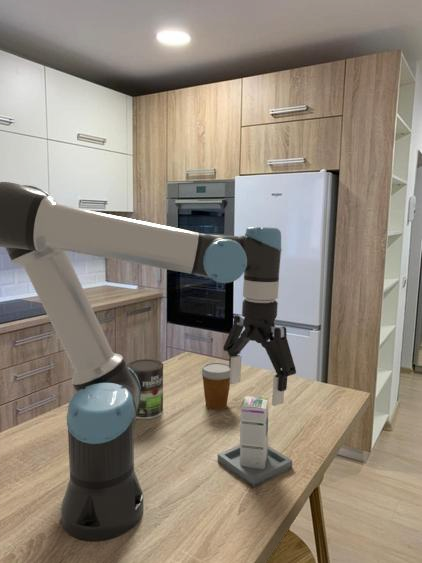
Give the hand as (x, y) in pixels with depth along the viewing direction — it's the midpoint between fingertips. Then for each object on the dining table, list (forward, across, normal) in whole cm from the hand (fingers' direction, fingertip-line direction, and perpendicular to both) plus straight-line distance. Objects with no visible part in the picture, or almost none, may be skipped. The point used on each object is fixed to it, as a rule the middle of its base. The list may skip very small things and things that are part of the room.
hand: (255, 392), depth 93 cm
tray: (+17, 0, -1) cm, 17 cm away
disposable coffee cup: (+18, +29, -13) cm, 36 cm away
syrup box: (+17, 0, -1) cm, 17 cm away
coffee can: (+18, +38, +6) cm, 42 cm away
